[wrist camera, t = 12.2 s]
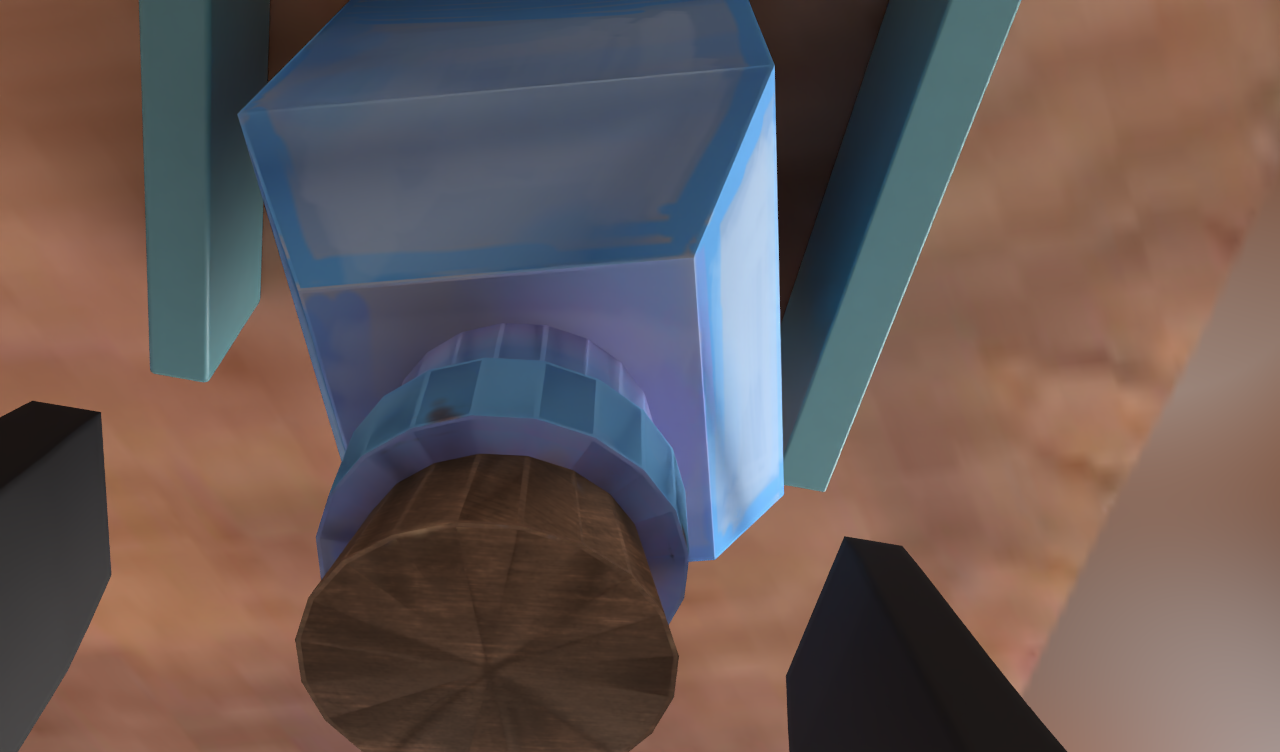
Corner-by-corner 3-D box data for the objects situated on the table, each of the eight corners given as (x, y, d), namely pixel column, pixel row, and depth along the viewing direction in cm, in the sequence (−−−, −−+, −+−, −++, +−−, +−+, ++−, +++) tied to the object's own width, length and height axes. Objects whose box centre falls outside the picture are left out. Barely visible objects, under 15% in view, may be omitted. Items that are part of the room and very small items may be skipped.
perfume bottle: (429, 319, 21) (234, 903, 11) (356, -7, 17) (-33, 386, 7) (745, 294, 20) (855, 868, 10) (731, -43, 17) (874, 314, 7)
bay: (208, 292, 20) (148, 374, 18) (211, -396, 15) (122, -419, 12) (803, 402, 22) (826, 493, 19) (1017, -185, 16) (1089, -165, 14)
